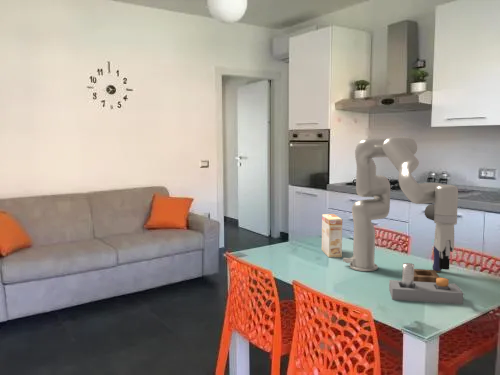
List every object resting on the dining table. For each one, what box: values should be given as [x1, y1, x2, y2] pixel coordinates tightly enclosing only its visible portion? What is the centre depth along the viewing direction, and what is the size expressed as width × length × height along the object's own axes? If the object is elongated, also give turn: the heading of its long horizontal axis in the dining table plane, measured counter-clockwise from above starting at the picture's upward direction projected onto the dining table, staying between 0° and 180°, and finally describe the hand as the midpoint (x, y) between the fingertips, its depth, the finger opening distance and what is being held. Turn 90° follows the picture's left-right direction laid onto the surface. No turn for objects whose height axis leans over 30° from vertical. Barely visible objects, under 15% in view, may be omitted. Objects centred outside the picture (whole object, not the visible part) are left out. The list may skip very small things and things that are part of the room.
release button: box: [436, 277, 449, 290], centre depth 159 cm, size 4×4×5 cm
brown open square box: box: [414, 268, 441, 283], centre depth 173 cm, size 10×10×6 cm
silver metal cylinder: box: [401, 262, 415, 288], centre depth 161 cm, size 4×4×12 cm
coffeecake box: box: [321, 213, 343, 258], centre depth 223 cm, size 15×7×20 cm, turn 5°
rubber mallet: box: [424, 203, 443, 273], centre depth 192 cm, size 12×8×30 cm, turn 19°
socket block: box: [388, 279, 464, 305], centre depth 160 cm, size 24×10×5 cm, turn 78°
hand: (443, 268), depth 158 cm, fingers closed
